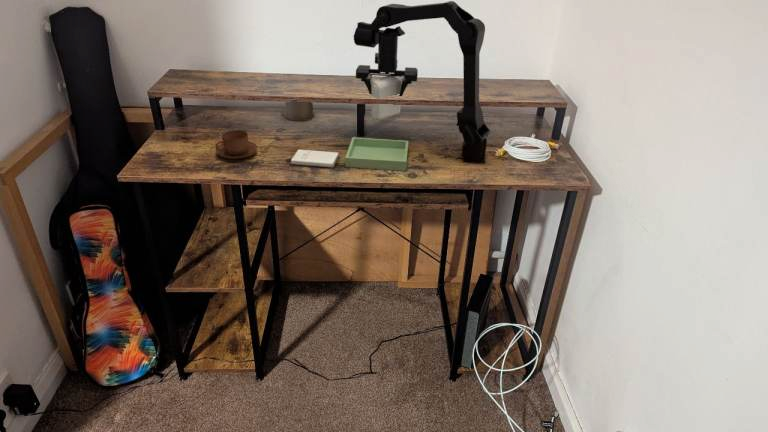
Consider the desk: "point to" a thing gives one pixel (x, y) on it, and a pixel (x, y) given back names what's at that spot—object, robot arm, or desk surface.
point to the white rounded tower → (385, 89)
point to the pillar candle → (299, 111)
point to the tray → (377, 154)
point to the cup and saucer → (235, 145)
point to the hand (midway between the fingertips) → (386, 100)
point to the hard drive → (315, 158)
